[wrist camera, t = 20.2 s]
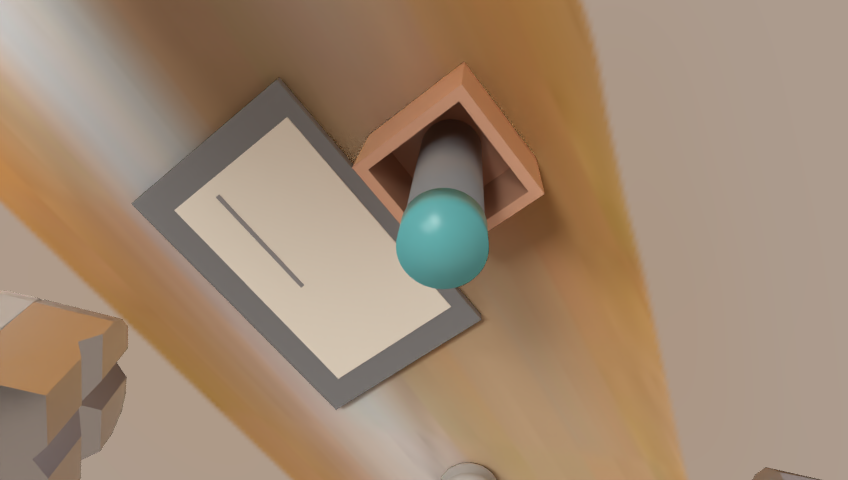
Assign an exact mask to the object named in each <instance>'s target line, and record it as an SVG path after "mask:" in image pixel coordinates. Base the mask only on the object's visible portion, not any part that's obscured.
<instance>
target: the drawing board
mask: <svg viewBox="0 0 848 480" xmlns="http://www.w3.org/2000/svg"><path fill="white" fill-rule="evenodd" d="M352 167H353V164H352V162H351V161H350V160H349V159H348V158H347V157H346V155H345V154H344V153H343V152H342V151H341V149H340V148H339V147H338V146H337V145H336V144H335V142H334V141H333V140H332V139H331V138H330V137H329V135H328V134H327V133H326V132H325V131H324V129H323V128H322V127H321V126H320V125H319V124H318V122H317V121H316V120H315V119H314V118H313V117H312V115H311V114H310V113H309V112H308V111H307V110H306V108H305V107H304V106H303V105H302V104H301V102H300V101H299V100H298V99H297V98H296V97H295V95H294V94H293V93H292V92H291V91H290V90H289V88H288V87H287V86H286V85H285V84H284V82H283V81H282V80H281V79H280V78H278V79H277V80H275V81H274V82H273V83H272V84H271V85H270V86H268V87H267V88H266V89H265V90H264V91H263V92H261V93H260V94H259V95H258V96H257V97H256V98H254V99H253V100H252V101H251V102H250V103H249V104H247V105H246V106H245V107H244V108H243V109H242V110H240V111H239V112H238V113H237V114H236V115H234V116H233V117H232V118H231V119H230V120H229V121H227V122H226V123H225V124H224V125H223V126H222V127H220V128H219V129H218V130H217V131H216V132H215V133H213V134H212V135H211V136H210V137H209V138H208V139H206V140H205V141H204V142H203V143H202V144H201V145H199V146H198V147H197V148H196V149H195V150H194V151H192V152H191V153H190V154H189V155H188V156H187V157H185V158H184V159H183V160H182V161H181V162H180V163H178V164H177V165H176V166H175V167H174V168H173V169H171V170H170V171H169V172H168V173H167V174H166V175H164V176H163V177H162V178H161V179H160V180H159V181H157V182H156V183H155V184H154V185H153V186H151V187H150V188H149V189H148V190H147V191H146V192H144V193H143V194H142V195H141V196H140V197H139V198H137V199H136V200H135V201H134V202H133V203H132V205H133V206H134V207H135V208H136V209H137V210H138V211H139V212H140V213H141V214H142V215H143V216H144V217H145V218H146V219H147V220H148V221H149V222H150V223H151V224H152V225H153V226H154V227H155V228H156V229H157V230H158V231H159V232H160V233H161V234H162V235H163V236H164V237H165V238H166V239H167V240H168V241H169V242H170V243H171V244H172V245H173V246H174V247H175V248H176V249H177V250H178V251H179V252H180V253H181V254H182V255H183V256H184V257H185V258H186V259H187V260H188V261H189V262H190V263H191V264H192V265H193V266H194V267H195V268H196V269H197V270H198V271H199V272H200V273H201V274H202V275H203V276H204V277H205V278H206V279H207V280H208V281H209V282H210V283H211V284H212V285H213V286H214V287H215V288H216V289H217V290H218V291H219V292H220V293H221V294H222V295H223V296H224V297H225V298H226V299H227V300H228V301H229V302H230V303H231V304H232V305H233V306H234V307H235V308H236V309H237V310H238V311H239V312H240V313H241V314H242V315H243V316H244V317H245V319H246V320H247V321H248V322H249V323H250V324H251V325H252V326H253V327H254V328H255V329H256V330H257V331H258V332H259V333H260V334H261V335H262V336H263V337H264V338H265V339H266V340H267V341H268V342H269V343H270V344H271V345H272V346H273V347H274V348H275V349H276V350H277V351H278V352H279V353H280V354H281V355H282V356H283V357H284V358H285V359H286V360H287V361H288V362H289V363H290V364H291V365H292V366H293V367H294V368H295V369H296V370H297V371H298V372H299V373H300V374H301V375H302V376H303V377H304V378H305V379H306V380H307V381H308V382H309V383H310V384H311V385H312V386H313V387H314V388H315V389H316V390H317V391H318V392H319V393H320V394H321V395H322V396H323V397H324V398H325V399H326V400H327V401H328V402H329V403H330V404H331V405H332V406H333V407H334V408H335V409H336V410H337V409H338V408H340V407H341V406H343V405H345V404H346V403H348V402H349V401H351V400H353V399H354V398H356V397H358V396H359V395H361V394H362V393H364V392H366V391H367V390H369V389H370V388H372V387H374V386H375V385H377V384H378V383H380V382H382V381H383V380H385V379H387V378H388V377H390V376H391V375H393V374H395V373H396V372H398V371H399V370H401V369H403V368H404V367H406V366H407V365H409V364H411V363H412V362H414V361H416V360H417V359H419V358H420V357H422V356H424V355H425V354H427V353H428V352H430V351H432V350H433V349H435V348H436V347H438V346H440V345H441V344H443V343H445V342H446V341H448V340H449V339H451V338H453V337H454V336H456V335H457V334H459V333H461V332H462V331H464V330H466V329H467V328H469V327H470V326H472V325H474V324H475V323H477V322H478V321H480V320H481V314H480V313H479V312H478V311H477V309H476V308H475V307H474V306H473V305H472V303H471V302H470V301H469V300H468V299H467V298H466V296H465V295H464V294H463V293H462V292H461V291H460V289H459V288H458V287H456V288H451V289H435V288H430V287H427V286H424V285H422V284H420V283H418V282H417V281H415V280H414V279H412V278H411V277H410V276H409V275H408V274H407V273H406V272H405V271H404V269H403V268H402V266H401V264H400V262H399V260H398V257H397V253H396V240H397V235H398V231H399V227H400V223H399V222H398V221H397V220H396V219H395V218H394V216H393V215H392V214H391V213H390V212H389V210H388V209H387V208H386V207H385V206H384V205H383V203H382V202H381V201H380V200H379V199H378V198H377V196H376V195H375V194H374V193H373V192H372V191H371V189H370V188H369V187H368V186H367V185H366V184H365V182H364V181H363V180H362V179H361V178H360V176H359V175H358V174H357V173H356V172H355V171H354V169H353V168H352Z"/></svg>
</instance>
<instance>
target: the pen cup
mask: <svg viewBox="0 0 848 480" xmlns="http://www.w3.org/2000/svg"><path fill="white" fill-rule="evenodd" d="M447 119H455V120H460V121H463V122H465V123H467V124H468V125H470V126H471V127H472V128H473V129H474V130H475V131H476V133H477V134H478V136H479V138H480V141H481V149H482V170H483V190H484V211H485V216H486V219H487V224H488V231H490V230H491V229H493V228H494V227H496V226H497V225H499V224H500V223H502V222H503V221H505V220H506V219H508V218H509V217H511V216H512V215H514V214H515V213H517V212H518V211H520V210H521V209H523V208H524V207H526V206H527V205H529V204H530V203H532V202H533V201H535V200H536V199H538V198H539V197H541V196H542V195H544V189H543V185H542V181H541V176H540V172H539V168H538V164H537V159H536V157H535V156H534V154H533V153H532V152H531V150H530V149H529V148H528V146H527V145H526V144H525V142H524V141H523V140H522V138H521V137H520V136H519V134H518V133H517V132H516V130H515V129H514V128H513V126H512V125H511V124H510V122H509V121H508V120H507V118H506V117H505V116H504V114H503V113H502V112H501V110H500V109H499V108H498V106H497V105H496V103H495V102H494V101H493V99H492V98H491V97H490V95H489V94H488V93H487V91H486V90H485V89H484V87H483V86H482V85H481V83H480V82H479V81H478V79H477V78H476V77H475V75H474V74H473V73H472V71H471V70H470V69H469V67H468V66H467V65H466V63H465V62H463V63H462V64H460V65H459V66H458V67H456V68H455V69H454V70H453V71H451V72H450V73H449V74H447V75H446V76H445V77H444V78H442V79H441V80H440V81H438V82H437V83H436V84H434V85H433V86H432V87H431V88H429V89H428V90H427V91H425V92H424V93H423V94H422V95H420V96H419V97H418V98H416V99H415V100H414V101H413V102H411V103H410V104H409V105H407V106H406V107H405V108H403V109H402V110H401V111H400V112H398V113H397V114H396V115H394V116H393V117H392V118H391V119H389V120H388V121H387V122H385V123H384V124H383V125H382V126H380V127H379V128H378V129H376V130H375V131H374V132H372V133H371V134H370V135H369V136H368V138H367V140H366V142H365V144H364V146H363V147H362V149H361V151H360V153H359V155H358V157H357V159H356V161H355V163H354V165H353V167H352V168H353V169H354V171H355V172H356V173H357V174H358V175H359V176H360V178H361V179H362V180H363V181H364V182H365V184H366V185H367V186H368V187H369V188H370V189H371V191H372V192H373V193H374V194H375V195H376V196H377V198H378V199H379V200H380V201H381V202H382V203H383V205H384V206H385V207H386V208H387V209H388V210H389V212H390V213H391V214H392V215H393V216H394V218H395V219H396V220H397V221H398V222H399V223H401V219H402V216H403V213H404V211H405V209H406V207H407V203H408V199H409V194H410V190H411V186H412V181H413V177H414V173H415V169H416V164H417V160H418V156H419V151H420V147H421V143H422V139H423V137H424V135H425V133H426V132H427V130H428V129H429V128H430V127H431V126H432V125H434V124H435V123H437V122H439V121H442V120H447Z"/></svg>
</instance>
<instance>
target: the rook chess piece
mask: <svg viewBox="0 0 848 480" xmlns="http://www.w3.org/2000/svg"><path fill="white" fill-rule="evenodd" d="M441 480H497V479H496V478H495V476H494V475H493V474H492V472H490V471H489V470H488V469H486V468H485V467H483V466H481V465H479V464H475V463H471V462H470V463H460V464H458V465H455V466H453V467H451V468H449V469H448V470H447V471H446V472H445V473H444V474H443V475H442V478H441Z"/></svg>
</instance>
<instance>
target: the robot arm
mask: <svg viewBox="0 0 848 480" xmlns="http://www.w3.org/2000/svg"><path fill="white" fill-rule="evenodd" d="M127 348H128V326H127V324H126V323H125V322H124V321H123V319H120V318H116V317H112V316H108V315H104V314H100V313H96V312H92V311H88V310H84V309H80V308H76V307H72V306H69V305H64V304H61V303H57V302H52V301H49V300H41V299H39V298H36V297H31V296H27V295H23V294H19V293H14V292H10V291H6V290H3V291H0V480H80V478H81V460H82V459H84V458H86V457H89V456H91V455H93V454H95V453H97V452H99V451H101V449H102V448H103V446H104V445H105V443H106V442H107V440H108V439H109V437H110V436H111V434H112V433H113V430H114V428H115V426H116V423H117V421H118V419H119V416H120V414H121V412H122V407H123V403H124V399H125V394H126V378H127V377H126V376H125V374H124V373H123V371H122V370H121V368H120V367H119V365H118V364H117V361H118V360H119V359H120V357H121V356H122V355H123V354H124V352H125V351H126V350H127ZM752 480H820V479H816V478H811V477H807V476H802V475H798V474H794V473H789V472H785V471H780V470H776V469H771V468H767V467H765V468H764V469H763V470H761V471H760V472H758V473H757V474H756V475H755V476H754V478H753V479H752Z"/></svg>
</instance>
